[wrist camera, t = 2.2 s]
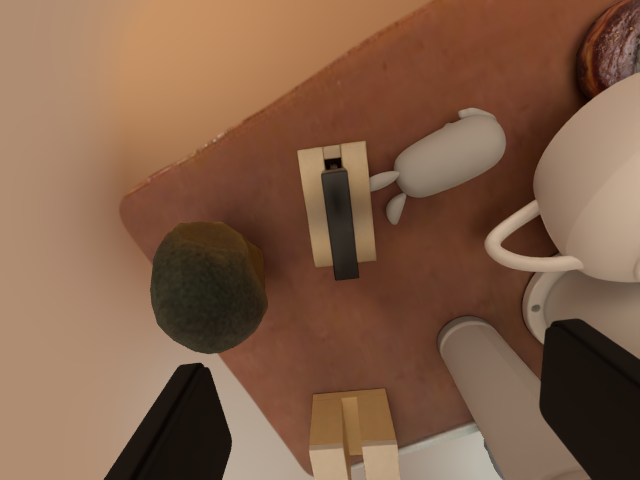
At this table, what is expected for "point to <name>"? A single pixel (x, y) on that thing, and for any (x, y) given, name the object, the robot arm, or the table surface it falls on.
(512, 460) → the travel mug
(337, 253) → the knife
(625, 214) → the teapot
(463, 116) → the rabbit figurine
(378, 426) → the u-shaped wooden stand
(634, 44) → the pastry
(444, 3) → the table surface
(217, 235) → the decorative stone
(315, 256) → the knife block
